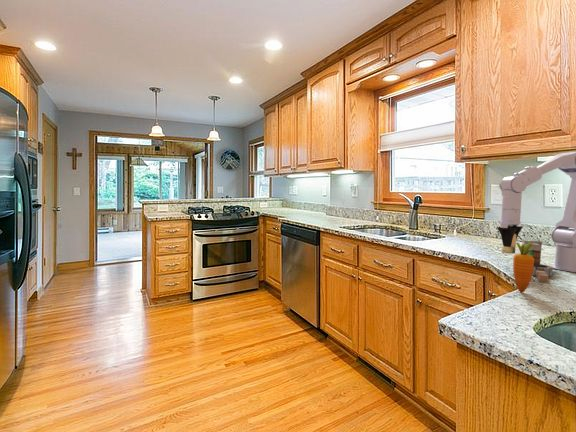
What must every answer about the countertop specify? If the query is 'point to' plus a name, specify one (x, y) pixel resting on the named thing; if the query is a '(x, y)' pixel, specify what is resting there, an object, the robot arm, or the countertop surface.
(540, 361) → the countertop surface
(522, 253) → the carrot
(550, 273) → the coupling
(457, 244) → the countertop surface
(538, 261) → the food container
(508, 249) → the peg
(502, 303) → the countertop surface
